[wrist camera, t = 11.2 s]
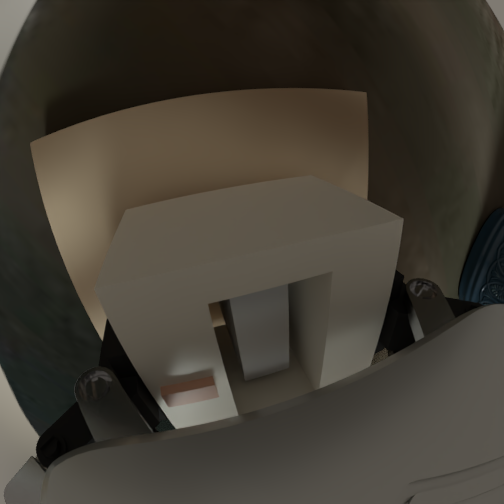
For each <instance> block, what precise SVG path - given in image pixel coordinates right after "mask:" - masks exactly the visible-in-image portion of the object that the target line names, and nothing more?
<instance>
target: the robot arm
mask: <svg viewBox="0 0 504 504" xmlns="http://www.w3.org/2000/svg"><path fill="white" fill-rule="evenodd" d="M403 279H404V276H403V275H402V274H401V273H400V272H398V271H397V270H395V275H394V280H393V285H392V289H391V294H390V298H389V302H388V306H387V310H386V314H385V318H384V322H383V326H382V329H381V333H380V336H379V340H378V343H377V346H376V349H375V353H377V352H379V351H381V350H383V349H384V347H385V348H386V349H387V350H388V358H386V359H384V360H382V361H380V362H378V363H376V364H374V365H372V366H370V367H367V368H365V369H363V370H361V371H359V372H357V373H355V374H353V375H350V376H348V377H346V378H344V379H341V380H339V381H337V382H334V383H332V384H329V385H327V386H325V387H322V388H320V389H317V390H314V391H312V392H309V393H307V394H304V395H301V396H298V397H296V398H293V399H290V400H287V401H284V402H281V403H278V404H275V405H272V406H269V407H266V408H262V409H259V410H256V411H252V412H249V413H245V414H242V415H238V416H234V417H230V418H226V419H222V420H218V421H214V422H209V423H204V424H200V425H195V426H190V427H185V428H180V429H174V430H169V431H163V432H158V430H157V429H156V428H155V427H156V426H157V425H158V424H159V423H160V420H166V419H167V416H166V415H165V413H164V412H163V410H162V409H161V408H160V406H159V405H158V403H157V402H156V400H155V399H154V397H153V396H152V394H151V393H150V391H149V390H148V388H147V387H146V385H145V384H144V382H143V381H142V379H141V377H140V376H139V374H138V373H137V371H136V369H135V368H134V366H133V364H132V363H131V361H130V359H129V357H128V356H127V354H126V352H125V350H124V349H123V347H122V345H121V343H120V341H119V339H118V338H117V336H116V334H115V332H114V330H113V328H112V326H111V324H110V322H109V320H108V318H107V320H106V325H105V331H104V336H103V342H102V348H101V354H100V361H99V367H94V368H91V369H89V370H87V371H86V372H84V373H83V374H82V375H81V376H80V377H79V378H78V380H77V382H76V384H75V389H74V392H75V397H76V399H77V402H76V403H75V404H74V405H73V406H72V407H71V408H69V409H68V410H67V411H66V412H65V413H64V414H63V415H62V416H61V417H60V418H59V419H58V420H57V421H56V422H55V423H54V424H53V425H52V426H51V427H50V428H48V429H47V430H46V431H45V432H44V433H43V434H42V435H41V437H40V438H39V440H38V443H37V446H36V453H37V457H36V458H34V457H33V456H31V457H30V458H29V459H28V461H27V462H26V463H25V464H24V465H23V467H22V468H21V469H20V470H19V471H18V472H17V473H16V475H15V476H14V477H13V478H12V479H11V481H10V482H9V483H8V484H7V486H6V488H5V491H4V498H5V502H6V504H504V304H490V305H482V304H480V303H475V302H470V301H465V300H459V299H453V298H447V297H444V295H443V293H442V291H441V289H440V288H439V287H438V285H436V284H435V283H434V282H432V281H430V280H427V279H422V278H416V279H412V280H409V281H408V282H407V284H405V283H403ZM375 353H374V354H375Z"/></svg>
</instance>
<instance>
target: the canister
mask: <svg viewBox="0 0 504 504" xmlns="http://www.w3.org/2000/svg"><path fill="white" fill-rule="evenodd" d="M459 300H465V301H470V302H475V303H480V304H482V305H490V304H504V208H498V209H497V210H495V211H494V212H493V213H492V214H491V215H490V217H489V218H488V219H487V221H486V222H485V224H484V225H483V227H482V229H481V231H480V233H479V234H478V236H477V238H476V240H475V243H474V245H473V247H472V249H471V252H470V254H469V257H468V259H467V262H466V265H465V267H464V271H463V274H462V277H461V282H460V287H459Z"/></svg>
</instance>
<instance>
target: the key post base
mask: <svg viewBox="0 0 504 504" xmlns="http://www.w3.org/2000/svg"><path fill="white" fill-rule="evenodd" d="M30 145H31V151H32V156H33V161H34V166H35V171H36V175H37V179H38V183H39V187H40V191H41V195H42V199H43V202H44V206H45V209H46V212H47V216H48V219H49V222H50V225H51V228H52V231H53V234H54V237H55V240H56V242H57V245H58V248H59V250H60V253H61V256H62V258H63V261H64V263H65V266H66V268H67V270H68V273H69V275H70V277H71V280H72V282H73V284H74V286H75V289H76V291H77V293H78V295H79V297H80V299H81V301H82V303H83V305H84V307H85V309H86V311H87V313H88V315H89V317H90V319H91V321H92V323H93V325H94V327H95V329H96V330H97V332H98V334H99V336H100V337H101V339H102V341H103V336H104V331H105V325H106V320H107V316H106V314H105V312H104V310H103V308H102V306H101V303H100V301H99V299H98V297H97V295H96V292H95V290H94V288H95V285H96V282H97V279H98V276H99V273H100V271H101V268H102V265H103V263H104V260H105V257H106V255H107V252H108V250H109V247H110V245H111V242H112V240H113V237H114V235H115V233H116V230H117V228H118V226H119V223H120V221H121V219H122V217H123V215H124V212H125V210H127V209H131V208H135V207H139V206H143V205H147V204H151V203H156V202H160V201H165V200H169V199H174V198H178V197H183V196H188V195H193V194H197V193H203V192H208V191H213V190H218V189H224V188H229V187H235V186H241V185H246V184H253V183H259V182H265V181H272V180H278V179H285V178H293V177H300V176H308V175H312V176H315V177H317V178H319V179H322V180H324V181H326V182H329V183H331V184H333V185H335V186H338V187H340V188H342V189H344V190H347V191H349V192H351V193H353V194H355V195H357V196H359V197H362V198H364V199H366V200H367V195H368V162H369V142H368V109H367V92H359V91H349V90H336V89H316V88H269V89H249V90H236V91H225V92H216V93H207V94H200V95H193V96H186V97H180V98H175V99H169V100H164V101H159V102H154V103H149V104H145V105H141V106H136V107H132V108H128V109H124V110H121V111H117V112H113V113H110V114H106V115H103V116H100V117H97V118H93V119H90V120H87V121H84V122H81V123H78V124H76V125H73V126H70V127H67V128H65V129H62V130H59V131H57V132H54V133H52V134H49V135H47V136H45V137H42V138H40V139H38V140H35V141H33V142H31V143H30ZM208 307H209V311H210V315H211V319H212V323H213V327H217V326H221V325H225V324H226V327H227V330H228V333H229V336H230V339H231V342H232V344H233V347H234V350H235V353H236V356H237V359H238V362H239V364H240V367H241V370H242V373H243V375H244V378H245V381H248V380H251V379H255V378H258V377H262V376H265V375H268V374H271V373H275V372H278V371H281V370H284V369H287V368H289V302H288V284H285V285H281V286H278V287H274V288H270V289H266V290H262V291H258V292H254V293H251V294H247V295H243V296H239V297H235V298H230V299H226V300H222V301H218V302H214V303H210V304H208Z"/></svg>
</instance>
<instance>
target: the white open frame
mask: <svg viewBox="0 0 504 504" xmlns="http://www.w3.org/2000/svg"><path fill="white" fill-rule="evenodd" d="M403 220H404V219H403V218H401V217H399V216H397V215H396V214H394V213H392V212H390V211H388V210H386V209H384V208H382V207H380V206H378V205H376V204H374V203H372V202H370V201H368V200H366V199H364V198H362V197H359V196H357V195H355V194H353V193H351V192H349V191H347V190H344V189H342V188H340V187H338V186H335V185H333V184H331V183H329V182H326V181H324V180H322V179H319V178H317V177H315V176H312V175H308V176H300V177H293V178H285V179H278V180H272V181H265V182H259V183H253V184H246V185H241V186H235V187H229V188H224V189H218V190H213V191H208V192H203V193H197V194H193V195H188V196H183V197H178V198H174V199H169V200H165V201H160V202H156V203H151V204H147V205H143V206H139V207H135V208H131V209H127V210H125V212H124V215H123V217H122V219H121V221H120V223H119V226H118V228H117V230H116V233H115V235H114V237H113V240H112V242H111V245H110V247H109V250H108V252H107V255H106V257H105V260H104V263H103V265H102V268H101V271H100V273H99V276H98V279H97V282H96V285H95V288H94V290H95V292H96V295H97V297H98V299H99V301H100V303H101V306H102V308H103V310H104V312H105V314H106V316H107V318H108V320H109V322H110V324H111V326H112V328H113V330H114V332H115V334H116V336H117V338H118V339H119V341H120V343H121V345H122V347H123V349H124V350H125V352H126V354H127V356H128V357H129V359H130V361H131V363H132V364H133V366H134V368H135V369H136V371H137V373H138V374H139V376H140V377H141V379H142V381H143V382H144V384H145V385H146V387H147V388H148V390H149V391H150V393H151V394H152V396H153V397H154V399H155V400H156V402H157V403H158V405H159V406H160V408H161V409H162V410H163V412H164V413H165V415H166V416H167V417H168V419H169V420H170V422H171V423H172V424H173V426H174V427H175V428H176V429H180V428H185V427H190V426H195V425H200V424H204V423H209V422H214V421H218V420H222V419H226V418H230V417H234V416H238V415H242V414H245V413H249V412H252V411H256V410H259V409H262V408H266V407H269V406H272V405H275V404H278V403H281V402H284V401H287V400H290V399H293V398H296V397H298V396H301V395H304V394H307V393H309V392H312V391H314V390H317V389H320V388H322V387H325V386H327V385H329V384H332V383H334V382H337V381H339V380H341V379H344V378H346V377H348V376H350V375H353V374H355V373H357V372H359V371H361V370H363V369H365V368H367V367H370V365H371V362H372V359H373V356H374V353H375V349H376V346H377V343H378V340H379V336H380V333H381V329H382V326H383V322H384V318H385V314H386V310H387V306H388V302H389V298H390V294H391V289H392V285H393V280H394V275H395V270H396V265H397V260H398V254H399V248H400V242H401V235H402V228H403ZM285 284H288V302H289V368H287V369H284V370H281V371H278V372H275V373H271V374H268V375H265V376H262V377H258V378H255V379H251V380H248V381H245V378H244V375H243V373H242V370H241V367H240V364H239V362H238V359H237V356H236V353H235V350H234V347H233V344H232V342H231V339H230V336H229V333H228V330H227V327H226V324H225V325H221V326H217V327H213V323H212V319H211V315H210V311H209V307H208V304H210V303H214V302H218V301H222V300H226V299H230V298H235V297H239V296H243V295H247V294H251V293H254V292H258V291H262V290H266V289H270V288H274V287H278V286H281V285H285Z"/></svg>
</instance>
